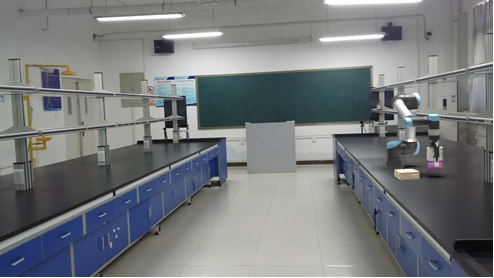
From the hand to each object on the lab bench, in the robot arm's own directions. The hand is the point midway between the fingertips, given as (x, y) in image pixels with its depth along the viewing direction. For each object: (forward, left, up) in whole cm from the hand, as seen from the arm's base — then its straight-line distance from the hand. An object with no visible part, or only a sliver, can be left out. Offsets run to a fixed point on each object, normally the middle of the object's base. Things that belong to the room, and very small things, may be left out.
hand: (435, 165), depth 313 cm
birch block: (+1, -21, -9) cm, 23 cm away
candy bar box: (0, 0, -3) cm, 3 cm away
